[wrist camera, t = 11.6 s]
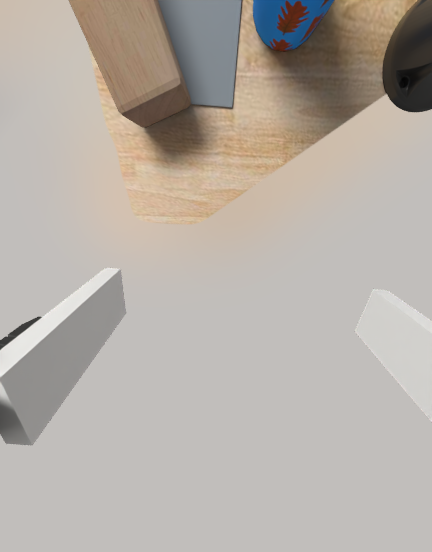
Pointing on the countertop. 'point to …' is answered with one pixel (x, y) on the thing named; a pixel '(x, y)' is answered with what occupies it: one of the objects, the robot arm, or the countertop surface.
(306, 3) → the thermos
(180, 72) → the block
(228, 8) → the mat
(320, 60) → the countertop surface
